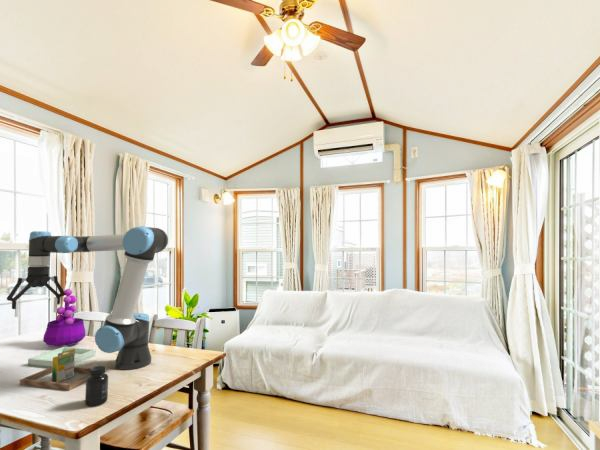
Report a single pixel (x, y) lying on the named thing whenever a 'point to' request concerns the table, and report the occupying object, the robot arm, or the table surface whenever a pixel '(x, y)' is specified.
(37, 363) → the sage tray
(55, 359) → the crayon box
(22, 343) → the table surface
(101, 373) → the supplement bottle
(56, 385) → the walnut frame
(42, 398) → the table surface
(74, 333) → the decorative plant
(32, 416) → the table surface
